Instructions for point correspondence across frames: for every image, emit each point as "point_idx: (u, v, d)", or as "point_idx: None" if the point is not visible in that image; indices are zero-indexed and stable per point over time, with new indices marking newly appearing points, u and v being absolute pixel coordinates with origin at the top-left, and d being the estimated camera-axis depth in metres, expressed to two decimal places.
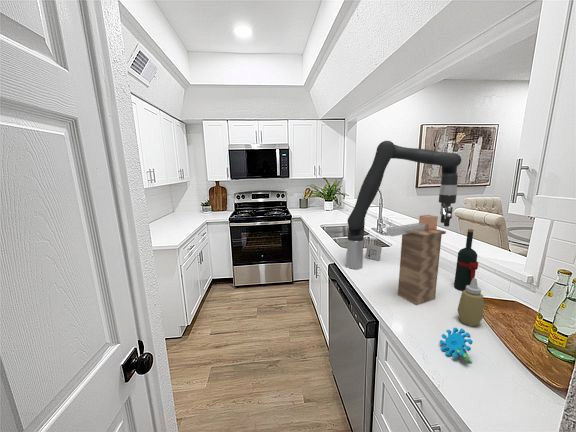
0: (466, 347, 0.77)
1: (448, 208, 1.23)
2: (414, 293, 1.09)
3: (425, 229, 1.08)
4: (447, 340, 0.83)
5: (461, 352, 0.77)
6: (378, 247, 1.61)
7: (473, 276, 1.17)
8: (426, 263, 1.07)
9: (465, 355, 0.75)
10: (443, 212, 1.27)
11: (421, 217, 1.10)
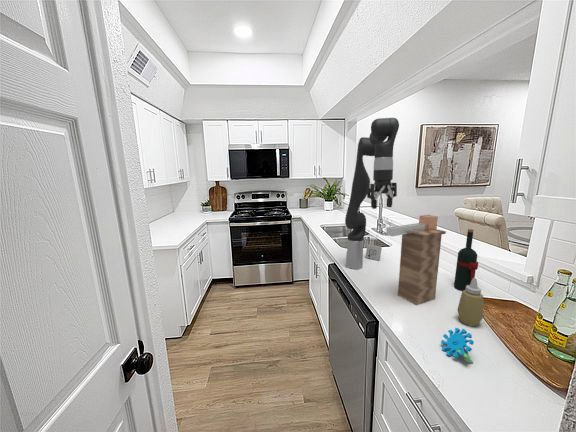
0: (467, 347, 0.76)
1: None
2: (414, 293, 1.09)
3: (425, 229, 1.08)
4: (448, 340, 0.83)
5: (462, 352, 0.77)
6: (378, 247, 1.61)
7: (473, 276, 1.17)
8: (426, 263, 1.07)
9: (465, 355, 0.75)
10: (391, 191, 1.05)
11: (421, 217, 1.10)
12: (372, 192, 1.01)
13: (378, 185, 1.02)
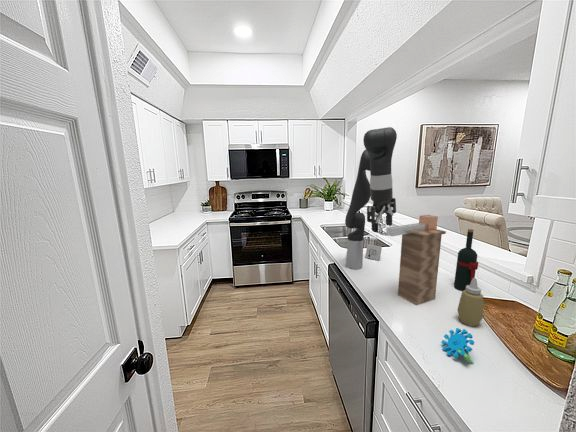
0: (467, 347, 0.76)
1: None
2: (414, 293, 1.09)
3: (425, 229, 1.08)
4: (449, 340, 0.83)
5: (462, 352, 0.77)
6: (378, 247, 1.61)
7: (473, 276, 1.17)
8: (426, 263, 1.07)
9: (466, 355, 0.75)
10: (391, 209, 0.93)
11: (421, 217, 1.10)
12: (373, 216, 0.89)
13: (378, 206, 0.89)
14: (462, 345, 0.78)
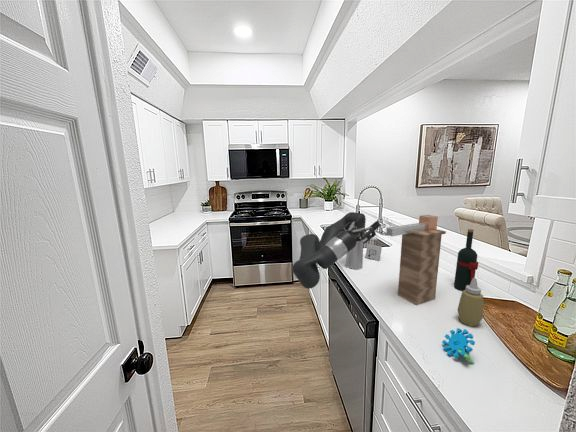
0: (468, 348, 0.76)
1: None
2: (414, 293, 1.09)
3: (425, 229, 1.08)
4: (450, 340, 0.83)
5: (462, 352, 0.76)
6: (378, 247, 1.61)
7: (473, 276, 1.17)
8: (426, 263, 1.07)
9: (466, 355, 0.75)
10: (350, 225, 0.97)
11: (421, 217, 1.10)
12: (368, 232, 0.89)
13: (357, 235, 0.91)
14: (462, 345, 0.78)
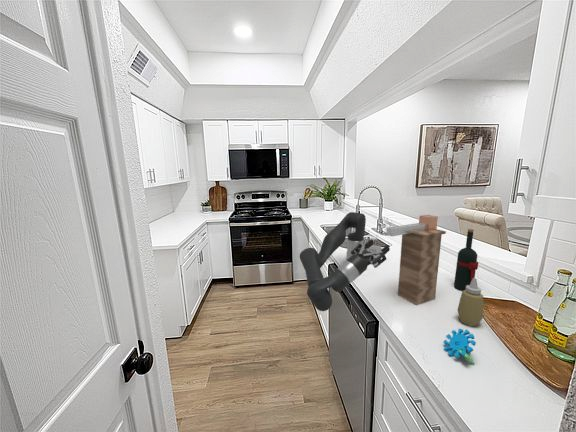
0: (468, 348, 0.76)
1: None
2: (414, 293, 1.09)
3: (425, 229, 1.08)
4: (451, 340, 0.82)
5: (463, 352, 0.76)
6: (378, 247, 1.61)
7: (473, 276, 1.17)
8: (426, 263, 1.07)
9: (466, 355, 0.75)
10: (361, 248, 1.01)
11: (421, 217, 1.10)
12: (379, 257, 0.93)
13: (368, 259, 0.95)
14: (463, 345, 0.78)
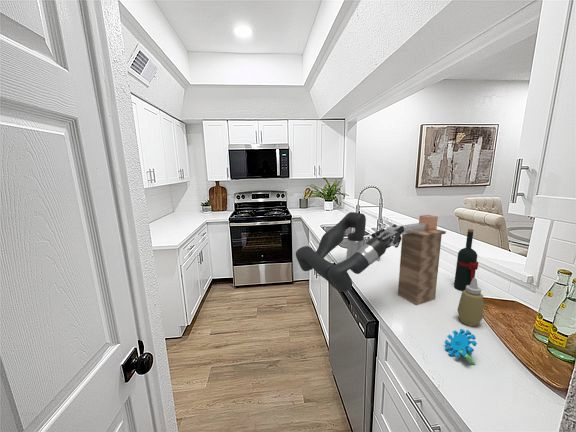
0: (469, 348, 0.76)
1: None
2: (414, 293, 1.09)
3: (425, 229, 1.08)
4: (452, 340, 0.82)
5: (463, 353, 0.76)
6: None
7: (473, 276, 1.17)
8: (426, 263, 1.07)
9: (467, 356, 0.75)
10: (382, 232, 1.03)
11: (421, 217, 1.10)
12: (397, 237, 0.97)
13: (387, 242, 0.98)
14: (464, 346, 0.78)
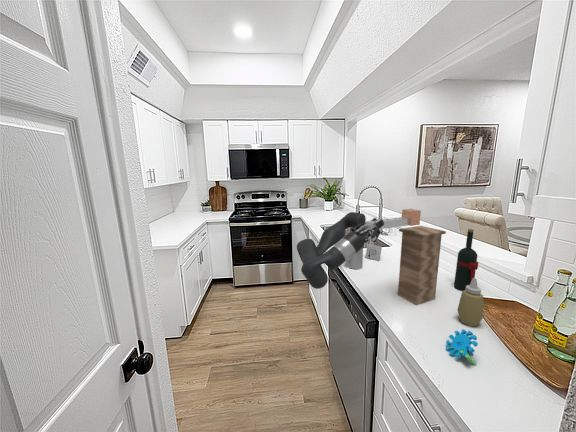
0: (470, 348, 0.76)
1: None
2: (414, 293, 1.09)
3: (407, 224, 1.03)
4: (453, 341, 0.82)
5: (464, 353, 0.76)
6: (378, 247, 1.61)
7: (473, 276, 1.17)
8: (426, 263, 1.07)
9: (467, 356, 0.75)
10: (361, 226, 0.98)
11: (404, 211, 1.05)
12: (375, 231, 0.92)
13: (365, 236, 0.93)
14: (465, 346, 0.78)
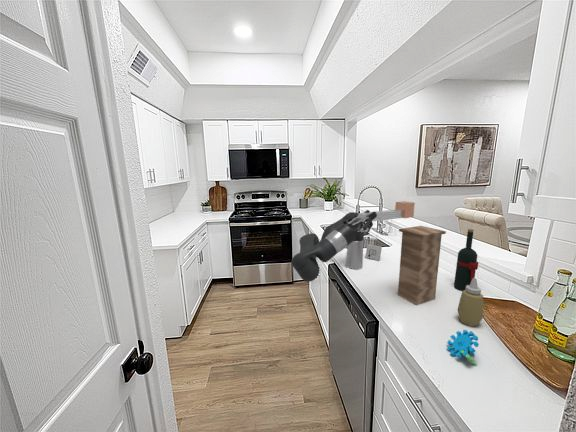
0: (470, 349, 0.76)
1: None
2: (414, 293, 1.09)
3: (401, 216, 1.01)
4: (454, 341, 0.82)
5: (464, 353, 0.76)
6: (378, 247, 1.61)
7: (473, 276, 1.17)
8: (426, 263, 1.07)
9: (467, 356, 0.75)
10: (353, 218, 0.96)
11: (397, 203, 1.03)
12: (367, 222, 0.90)
13: (357, 228, 0.91)
14: (466, 346, 0.78)
